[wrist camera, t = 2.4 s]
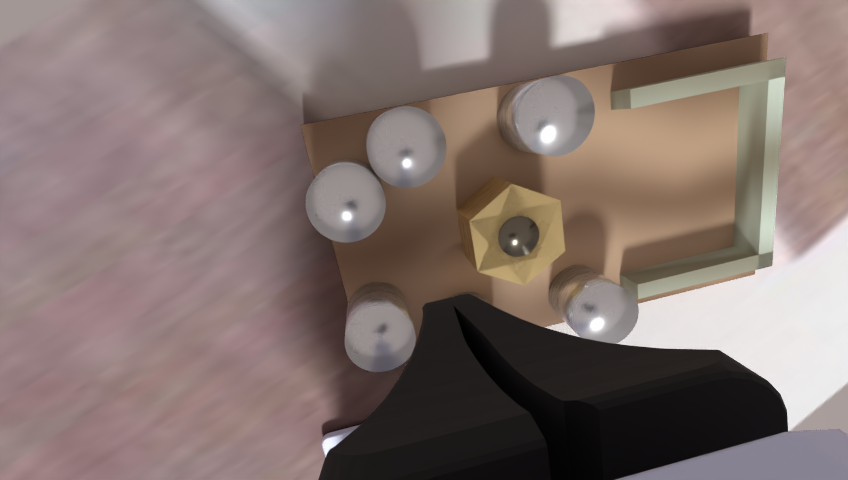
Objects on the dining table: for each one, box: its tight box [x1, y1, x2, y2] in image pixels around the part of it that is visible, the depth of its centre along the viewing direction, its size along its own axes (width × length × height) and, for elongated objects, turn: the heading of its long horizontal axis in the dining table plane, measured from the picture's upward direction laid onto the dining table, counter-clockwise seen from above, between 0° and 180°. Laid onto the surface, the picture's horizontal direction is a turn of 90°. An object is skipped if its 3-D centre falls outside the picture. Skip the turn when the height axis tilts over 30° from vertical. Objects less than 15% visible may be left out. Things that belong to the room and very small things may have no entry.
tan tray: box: [300, 33, 786, 362], centre depth 20 cm, size 12×22×3 cm, turn 101°
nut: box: [456, 176, 565, 285], centre depth 19 cm, size 4×5×3 cm
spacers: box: [306, 75, 638, 372], centre depth 18 cm, size 12×13×3 cm
